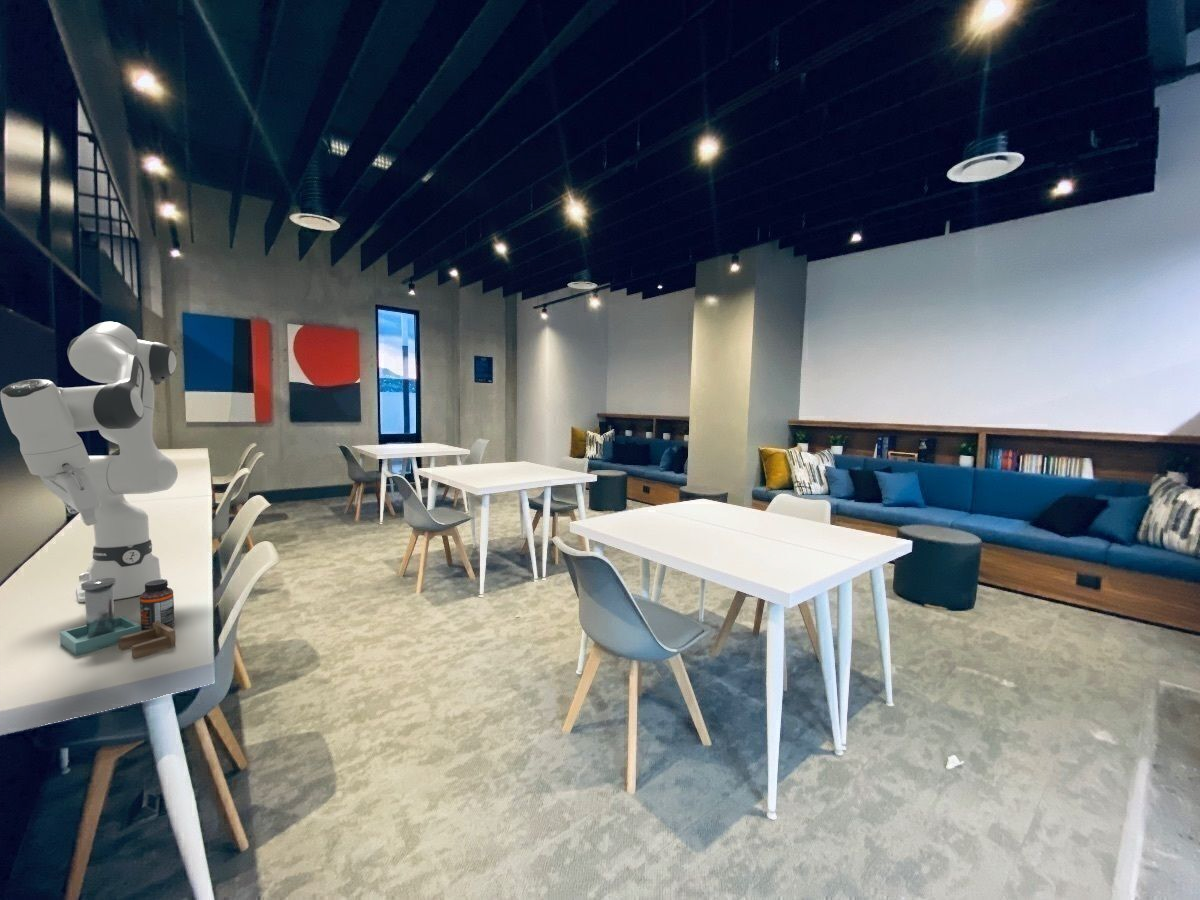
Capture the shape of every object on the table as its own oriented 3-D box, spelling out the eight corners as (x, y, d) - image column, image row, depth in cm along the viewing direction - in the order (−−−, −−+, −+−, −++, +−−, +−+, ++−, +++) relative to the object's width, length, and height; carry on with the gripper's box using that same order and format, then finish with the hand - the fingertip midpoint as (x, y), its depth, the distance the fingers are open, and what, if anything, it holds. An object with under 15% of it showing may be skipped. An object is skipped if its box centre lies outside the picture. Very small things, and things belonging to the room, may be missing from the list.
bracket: (118, 648, 108) (118, 632, 108) (158, 636, 114) (158, 621, 113) (134, 658, 103) (134, 642, 103) (175, 646, 109) (174, 630, 109)
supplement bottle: (135, 631, 116) (132, 584, 115) (165, 621, 122) (163, 576, 121) (150, 635, 114) (148, 587, 113) (180, 625, 120) (178, 579, 119)
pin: (80, 638, 111) (77, 582, 110) (113, 629, 115) (110, 576, 114) (88, 644, 108) (85, 587, 107) (122, 634, 113) (119, 580, 112)
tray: (60, 643, 110) (59, 631, 110) (124, 626, 119) (123, 615, 119) (76, 655, 104) (75, 643, 104) (141, 636, 114) (141, 625, 113)
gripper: (96, 464, 101) (120, 524, 106) (63, 445, 111) (86, 500, 116) (53, 475, 96) (80, 538, 101) (22, 454, 106) (48, 511, 111)
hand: (83, 517), depth 108 cm, fingers open, 8 cm apart
